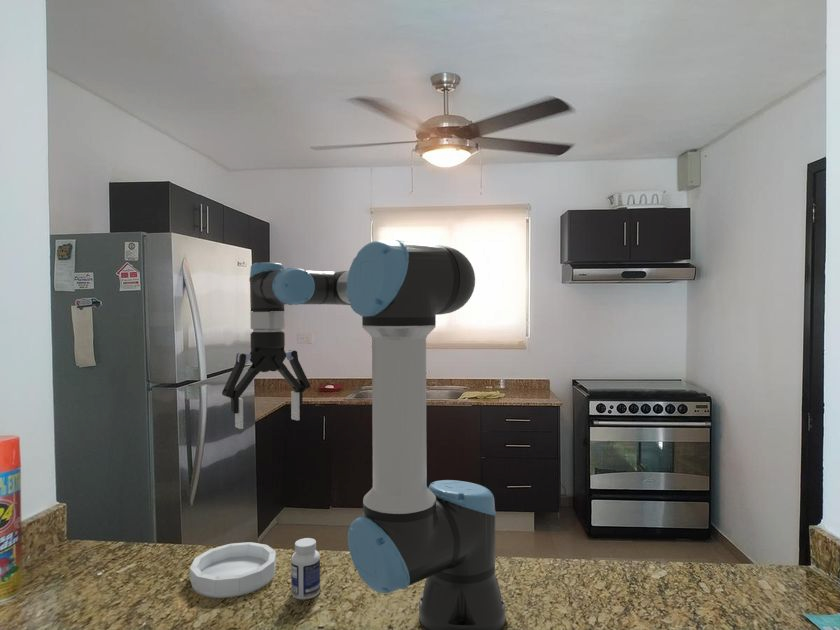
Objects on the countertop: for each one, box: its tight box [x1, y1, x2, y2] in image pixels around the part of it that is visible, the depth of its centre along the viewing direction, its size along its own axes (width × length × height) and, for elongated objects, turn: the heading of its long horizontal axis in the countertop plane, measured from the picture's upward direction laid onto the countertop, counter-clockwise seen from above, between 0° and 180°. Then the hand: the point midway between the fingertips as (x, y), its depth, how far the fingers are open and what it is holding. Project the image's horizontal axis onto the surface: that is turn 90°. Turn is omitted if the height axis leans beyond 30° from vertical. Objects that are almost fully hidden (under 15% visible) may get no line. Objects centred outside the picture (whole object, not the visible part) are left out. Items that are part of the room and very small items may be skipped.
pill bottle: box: [290, 537, 321, 600], centre depth 103 cm, size 5×5×10 cm
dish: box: [189, 541, 277, 599], centre depth 109 cm, size 16×16×4 cm
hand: (268, 423), depth 124 cm, fingers open, 13 cm apart
